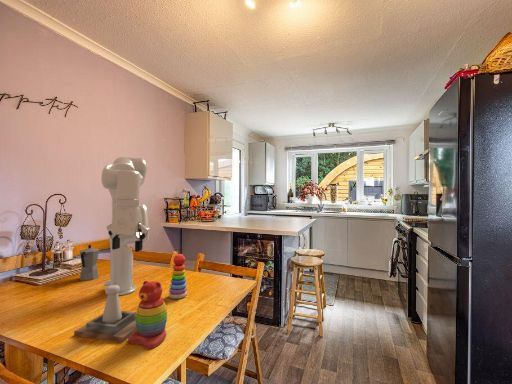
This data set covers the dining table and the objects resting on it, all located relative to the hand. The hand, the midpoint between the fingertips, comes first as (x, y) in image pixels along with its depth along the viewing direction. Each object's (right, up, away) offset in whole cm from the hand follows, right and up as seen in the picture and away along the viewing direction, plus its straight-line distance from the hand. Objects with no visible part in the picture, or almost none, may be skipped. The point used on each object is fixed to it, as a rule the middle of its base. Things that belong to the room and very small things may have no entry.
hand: (127, 249), depth 99 cm
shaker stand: (-1, -25, -9) cm, 26 cm away
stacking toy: (+13, -26, +21) cm, 35 cm away
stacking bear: (+14, -25, -14) cm, 32 cm away
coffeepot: (-43, -26, +45) cm, 67 cm away
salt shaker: (-1, -24, -9) cm, 25 cm away
